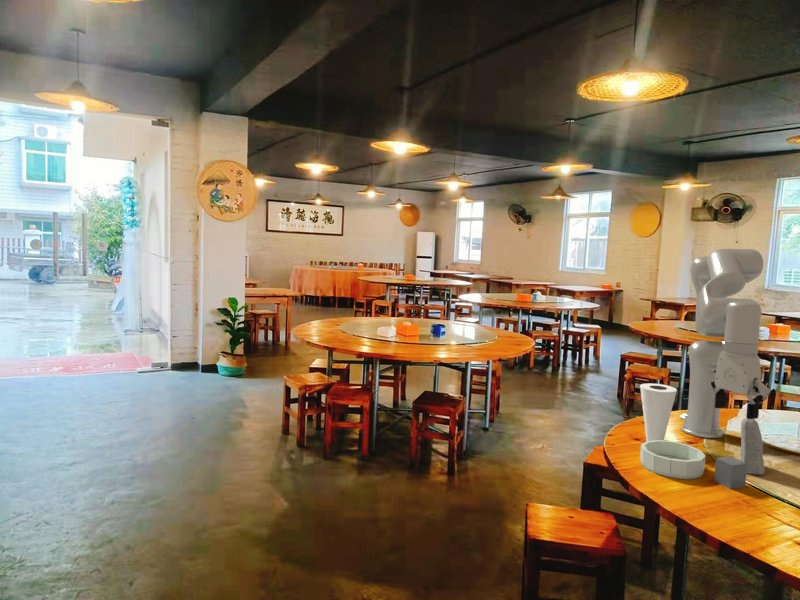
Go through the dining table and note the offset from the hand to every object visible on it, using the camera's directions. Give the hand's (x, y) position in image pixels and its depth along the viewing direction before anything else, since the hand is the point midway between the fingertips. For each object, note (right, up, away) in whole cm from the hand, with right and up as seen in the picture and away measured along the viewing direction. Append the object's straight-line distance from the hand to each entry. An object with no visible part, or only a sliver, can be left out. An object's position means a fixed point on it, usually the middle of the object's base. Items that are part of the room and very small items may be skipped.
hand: (735, 412), depth 143 cm
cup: (-6, -16, +33) cm, 37 cm away
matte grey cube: (0, -20, +2) cm, 20 cm away
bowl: (-11, -18, +13) cm, 25 cm away
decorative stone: (+12, -19, +13) cm, 26 cm away
